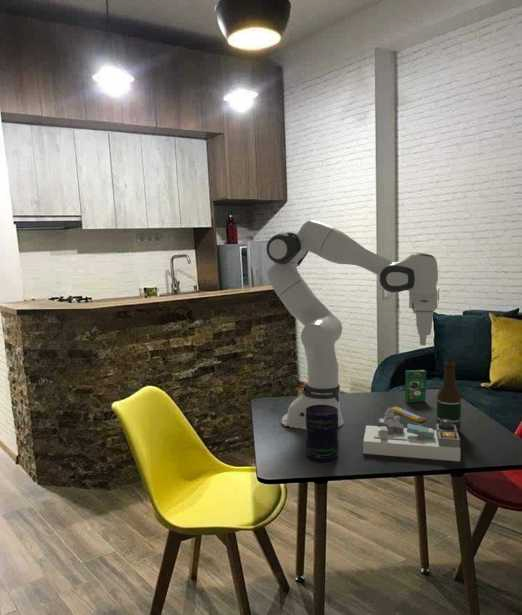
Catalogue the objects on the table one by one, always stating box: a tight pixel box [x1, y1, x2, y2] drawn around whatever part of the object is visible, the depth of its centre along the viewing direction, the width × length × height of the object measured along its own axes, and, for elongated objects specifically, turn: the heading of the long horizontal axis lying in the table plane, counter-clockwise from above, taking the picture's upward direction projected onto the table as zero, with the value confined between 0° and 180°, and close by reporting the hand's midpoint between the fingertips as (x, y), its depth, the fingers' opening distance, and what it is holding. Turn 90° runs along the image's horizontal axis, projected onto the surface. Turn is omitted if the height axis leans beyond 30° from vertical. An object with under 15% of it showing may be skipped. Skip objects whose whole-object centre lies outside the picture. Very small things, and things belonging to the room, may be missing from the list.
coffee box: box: [404, 369, 427, 404], centre depth 204 cm, size 8×3×13 cm, turn 97°
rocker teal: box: [406, 423, 435, 438], centre depth 156 cm, size 8×4×2 cm, turn 74°
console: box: [362, 420, 461, 462], centre depth 157 cm, size 28×14×7 cm, turn 75°
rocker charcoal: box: [377, 417, 405, 433], centre depth 161 cm, size 8×4×2 cm, turn 74°
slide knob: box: [381, 426, 387, 439], centre depth 155 cm, size 2×3×3 cm, turn 165°
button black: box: [440, 419, 453, 430], centre depth 157 cm, size 4×4×2 cm
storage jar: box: [305, 405, 340, 464], centre depth 152 cm, size 10×10×15 cm
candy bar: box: [390, 405, 427, 423], centre depth 188 cm, size 17×4×2 cm, turn 25°
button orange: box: [442, 432, 455, 439], centre depth 150 cm, size 4×4×2 cm
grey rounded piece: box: [382, 406, 401, 424], centre depth 176 cm, size 5×7×8 cm
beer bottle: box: [436, 361, 462, 434], centre depth 170 cm, size 8×8×24 cm
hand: (422, 344), depth 164 cm, fingers closed
